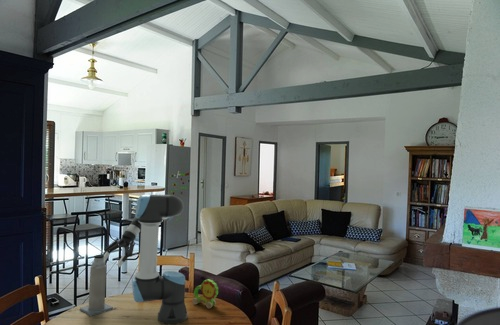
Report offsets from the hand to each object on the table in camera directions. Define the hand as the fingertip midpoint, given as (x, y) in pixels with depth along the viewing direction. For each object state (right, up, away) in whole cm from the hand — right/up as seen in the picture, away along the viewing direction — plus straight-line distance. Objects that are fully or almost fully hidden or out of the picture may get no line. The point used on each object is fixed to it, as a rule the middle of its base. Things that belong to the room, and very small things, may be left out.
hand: (109, 264), depth 193 cm
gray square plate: (-4, -22, -8) cm, 24 cm away
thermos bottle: (-4, -21, -8) cm, 23 cm away
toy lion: (+54, -25, +3) cm, 60 cm away
